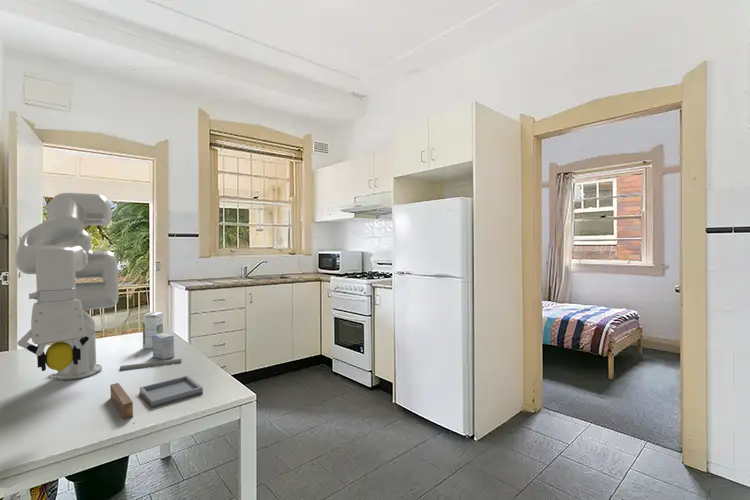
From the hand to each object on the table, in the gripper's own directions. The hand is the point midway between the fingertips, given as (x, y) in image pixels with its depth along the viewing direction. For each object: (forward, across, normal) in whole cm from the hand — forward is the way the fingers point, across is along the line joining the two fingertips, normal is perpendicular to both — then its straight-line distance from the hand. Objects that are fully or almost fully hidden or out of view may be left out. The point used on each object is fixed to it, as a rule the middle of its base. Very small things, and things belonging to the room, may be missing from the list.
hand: (59, 365), depth 95 cm
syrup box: (+16, +35, +58) cm, 69 cm away
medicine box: (+16, +34, +39) cm, 54 cm away
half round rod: (+16, +28, +31) cm, 45 cm away
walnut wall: (+15, +13, 0) cm, 19 cm away
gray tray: (+15, +25, 0) cm, 29 cm away
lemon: (+2, 0, 0) cm, 2 cm away
